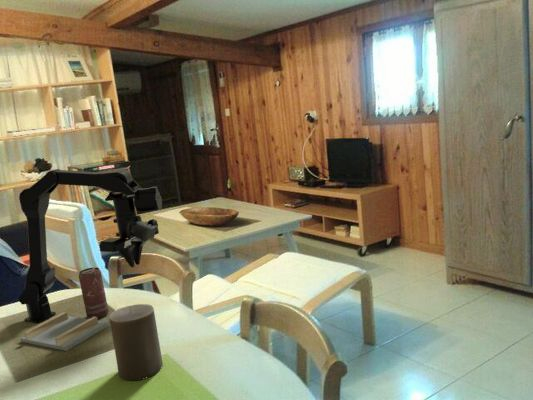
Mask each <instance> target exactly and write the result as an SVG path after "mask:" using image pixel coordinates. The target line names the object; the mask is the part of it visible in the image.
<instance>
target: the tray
mask: <svg viewBox="0 0 533 400" xmlns="http://www.w3.org/2000/svg"><path fill="white" fill-rule="evenodd" d="M109 326H110V321H103V320H99V319H97V317H95V316H94V317H92V318H90V319H89V318H83V317H76V316H70V315H68V312H67V311H66V312H65V311H63V312H61V313H60V314H58V315H56V316H54V317H53V316H52V317H51V318H50V319H48V320H46V321H44V322H41V323H40V324H38V325H36V326H34V327H33V328H30V329H28V330H26V331H24V332H23V333H24V336H22V337H20V343H24V344H30V345H34V346H39V347H40V346H41V347H44V348H51V349H57V350H60V351H65V352H67V351H69V350H71V349H73V348H74V347H75V346H77V345H79V344H81V343H82V342H84V341H85V340H87V339H89V338H91V337H92V336H94V335H95V334H98V333H99V332H101V331H103V330H104V329H106V328H108V327H109Z"/></svg>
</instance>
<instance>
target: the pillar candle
mask: <svg viewBox="0 0 533 400" xmlns="http://www.w3.org/2000/svg"><path fill="white" fill-rule="evenodd" d="M108 320H109V326H110V331H111V336H112V337H111V338H112V342H113V348H114V353H115V359H116V364H117V365H116V367H117V372H118V376H119V378H121V379H122V380H124V381H125V380H126V381H139V380H140V381H141V380H144V379H143V378H146V377H148V378H150V377H152V376H154V375H156V374H157V373H159V372H160V371H161V370H162V368H163V367H164V366H163V365H164V363H163V358H162V351H161V345H160V339H159V333H158V326H157V321H156V315H155V308H154V306H153V305H151V304H146V303H145V304H143V303H140V304H139V303H138V304H132V305H128V306H124V307H120V308H117V309H116V310H115V311H113V312H111V314H110V315H109V317H108ZM161 367H162V368H161ZM160 369H161V370H160ZM159 370H160V371H159ZM158 371H159V372H158ZM149 376H150V377H149ZM146 379H147V378H146Z"/></svg>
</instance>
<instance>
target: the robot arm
mask: <svg viewBox="0 0 533 400" xmlns="http://www.w3.org/2000/svg"><path fill="white" fill-rule="evenodd" d="M59 185H60V186H61V185H64V186H65V185H66V186H76V187H77V186H78V187H79V186H80V187H81V186H82V187H96V188H99V189H101V190H104V191H109V192H108V195H107V196H106V197H105V198H104V201H105V202H110V201H112V202H113V208H114V213H115V218H113V220H112V221H113V223H114V224H117V225H116V226H117V231H118V232H116V233H115V237H108V238H106V239H103V240H102V241H100V242H99V245H98V246H99V251H100V252H102V253H106V252H107V253H116V252H119V254H120V255H121V256H122V257H123V259H124V260H125V261H126V263H127V264H128V265H129V266H130V267H131V268H134V267H135V265H137V266H139V265H140V262H141V258H142V253H143V247H144V245H145V244H146V242H148V241H149V240H150V239H153V238H155V236H156V235H158V234H159V233H160V232H159V231H160V230H159V224H158V221H157V220H158V219H154V218H152V219H149V220H147V221H143V220H142V217H141V215H139V214H137V211H139V212H140V213H146V212H147V213H148V212H157V211H162V209H163V199H162V196H161V193H160V191H159V190H158V186H151V187H147V188H146V187H145V188H142V187H141V186H140V184H139V183H137V181H135V179H134V178H133V175H132V174H131V173H130V171H128V170H127V169H114V170H108V171H99V172H97V171H84V170H83V171H80V170H66V169H65V170H64V169H59V168H54V169H52V170H49V171H47V172H46V173H45V174H44V176H42V177H41V178H40V179H39V180H37V181H36V182H35V183H33V184H32V186H30V187H27V188H25V189H23V190H22V191H21V192H20V193H19V196H18V198H19V204H20V209H21V211H22V212H23V214H24V215H25V218H26V221H27V227H26V228H27V238H28V240H27V241H28V242H27V243H28V256H29V257H28V258H29V267H28V270H27V273H26V275H25V281H24V290H23V291H22V293H21V294H20V295H19V297H18V299H17V300H18V301H19V303H20V304H21V305H26V306H25V307H26V310H27V315H28V316H27V317H26V318H24V321H25V322H30V323H37V324H39V323H42V322H43V321H45V320H47V319H48V318H50V317H51V318H52V317H53V316H54V315H56V314H57V313H56V312H55V311H52V309H51V303H50V301H49V298H48V296H47V295H48V294H49V293H51V287H53V285H54V284H55V281H56V280H57V278H56V267H51V265H50V264H49V263H48V253H47V251H48V250H47V249H48V248H47V235H46V234H47V233H46V214H47V212H48V208H49V205H50V198H51V194H52V193H53V192H54V191H55V190H56V188H57V187H58V186H59Z"/></svg>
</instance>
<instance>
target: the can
mask: <svg viewBox="0 0 533 400" xmlns="http://www.w3.org/2000/svg"><path fill="white" fill-rule="evenodd" d="M78 273H79V274H78V279H79V285H80V290H81V294H82V295H81V296H82V301H83V305H84V309H85V314H86V317H87V319H90V318H92V317H94V316H95V317H97V319H98V320H101V319H103V318H105V317H106V316H107V315H108V314H109V306H108V305H109V304H108V301H107V295H106V291H105V285H104V281H103V276H102V271H101V269H100V267H96V266H94V267H89V268H84V269H82V270H81V271H79V272H78Z"/></svg>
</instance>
